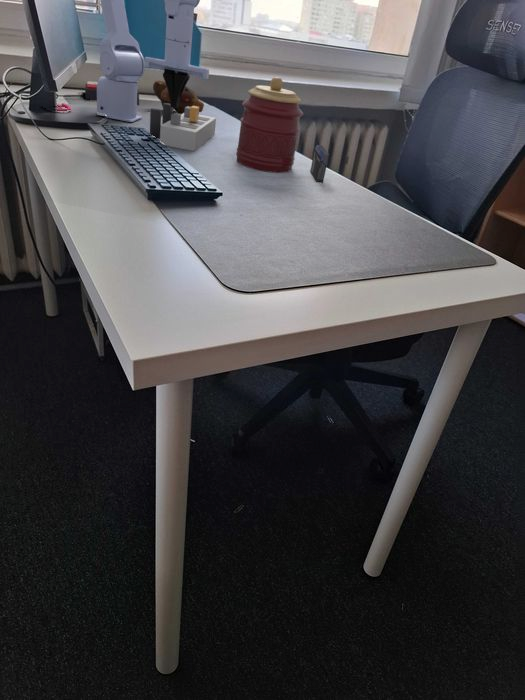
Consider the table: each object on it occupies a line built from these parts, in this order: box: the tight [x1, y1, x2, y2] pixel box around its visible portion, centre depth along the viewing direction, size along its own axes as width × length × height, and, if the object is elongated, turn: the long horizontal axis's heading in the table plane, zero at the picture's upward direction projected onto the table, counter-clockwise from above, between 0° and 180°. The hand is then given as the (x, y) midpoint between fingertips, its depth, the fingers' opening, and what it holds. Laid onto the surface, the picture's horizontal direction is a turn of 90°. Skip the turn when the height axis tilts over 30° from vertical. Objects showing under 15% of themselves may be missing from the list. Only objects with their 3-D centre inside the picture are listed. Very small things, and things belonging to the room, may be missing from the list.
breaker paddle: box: [189, 106, 200, 122], centre depth 121 cm, size 2×3×3 cm, turn 172°
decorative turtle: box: [152, 80, 205, 114], centre depth 148 cm, size 10×15×8 cm, turn 88°
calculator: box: [84, 81, 140, 106], centre depth 152 cm, size 11×4×15 cm
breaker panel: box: [159, 106, 217, 152], centre depth 122 cm, size 8×22×6 cm, turn 172°
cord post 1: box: [149, 107, 162, 140], centre depth 118 cm, size 2×2×6 cm
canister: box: [235, 76, 304, 173], centre depth 110 cm, size 13×13×18 cm
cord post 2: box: [161, 103, 174, 125], centre depth 127 cm, size 2×2×6 cm
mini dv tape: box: [309, 144, 330, 184], centre depth 111 cm, size 8×2×6 cm, turn 4°
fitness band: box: [55, 103, 72, 111], centre depth 128 cm, size 8×6×2 cm
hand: (174, 107), depth 121 cm, fingers closed
